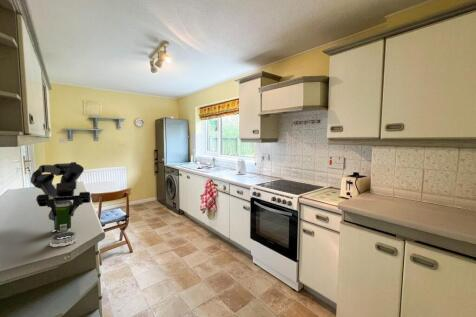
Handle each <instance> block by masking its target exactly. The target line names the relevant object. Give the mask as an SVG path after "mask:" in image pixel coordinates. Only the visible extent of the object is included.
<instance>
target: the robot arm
mask: <svg viewBox="0 0 476 317" xmlns="http://www.w3.org/2000/svg"><path fill="white" fill-rule="evenodd" d="M83 172H84V167H83V166H82V165H81V164H78V163H77V162H76V161H75V162H73V161H72V162H70V163H69V162H67V163H55V164H42V165H39V167H38V168H37V170H35V171H34V172H32V174H31V177H30V183H31V184H32V185H33V186H34V187H35V188H37V189H39V190H42V192H43V194H38V195H37V196H36V199H35V200H36V203H37V205H38V207H47V208H50V209H51V210H50V211H49V213H48V215H47V216H48V220H50V221H52V222H53V229H55V230H56V226H55V205H56V203H58V202H65V201H68V202H70V204H71V212H70V215H71V217H74V214H75V212H76V210H77V209H78V208H79V206H81V205H83V204H89V203H91V201H92V199H91V198H92V197H91V192H90V191H80V192H79V195H75V190H77V180H78V179H80V177H81V175H82V174H83ZM55 176H56V177H57V176H58V177H59V176H61V177H60V182H57V183H56V187H55V185H54V183H53V181H54V178H55Z"/></svg>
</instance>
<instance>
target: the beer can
mask: <svg viewBox="0 0 476 317" xmlns="http://www.w3.org/2000/svg"><path fill="white" fill-rule="evenodd" d="M70 212H71V204H70V202H68V201H65V202H58V203H56V205H55V226H56V231H57V232H56V233H64V232H69V231H70V230H71V228H72V216H71V215H70Z"/></svg>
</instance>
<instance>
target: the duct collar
mask: <svg viewBox="0 0 476 317" xmlns="http://www.w3.org/2000/svg"><path fill="white" fill-rule="evenodd" d="M66 236H71V237H67V238H63V239H57V238H61V237H66ZM76 237H77V232H75V231H65V232H58V233H57V234H54V235H52V236H51V237H50V242H51V243H52V244H60V243H67V242H70V241H72V240H74V239H75V238H76Z"/></svg>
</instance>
